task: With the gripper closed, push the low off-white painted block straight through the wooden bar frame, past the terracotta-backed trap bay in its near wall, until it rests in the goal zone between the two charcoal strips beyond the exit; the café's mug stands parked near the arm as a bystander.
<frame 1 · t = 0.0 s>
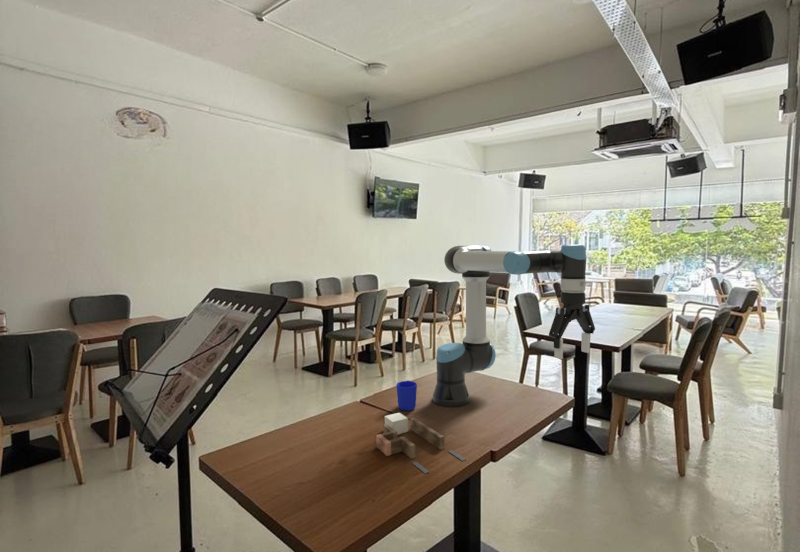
hand: (572, 355, 143), 28 cm above the table, fingers open, 13 cm apart
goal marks: (439, 461, 130), on the table
block: (396, 430, 153), on the table
wooden bar frame: (412, 442, 143), on the table
mug: (407, 407, 175), on the table
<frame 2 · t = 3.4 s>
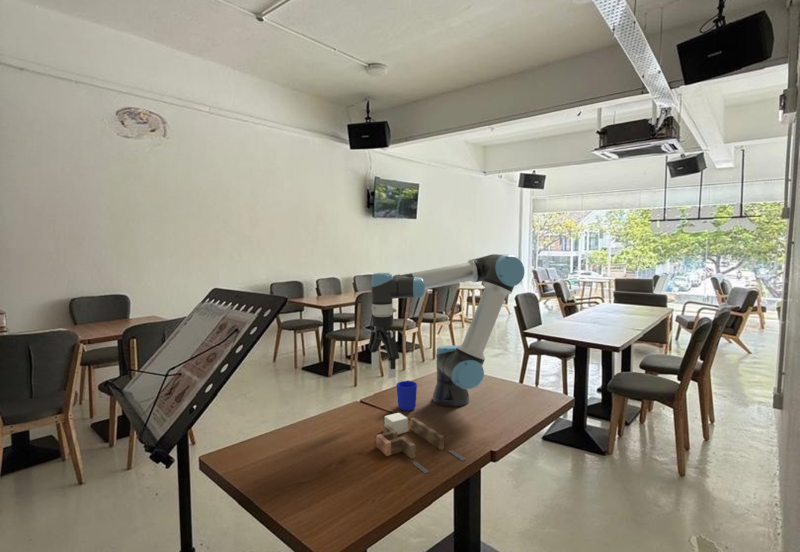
hand: (383, 373, 159), 18 cm above the table, fingers open, 12 cm apart
nothing on the table moved.
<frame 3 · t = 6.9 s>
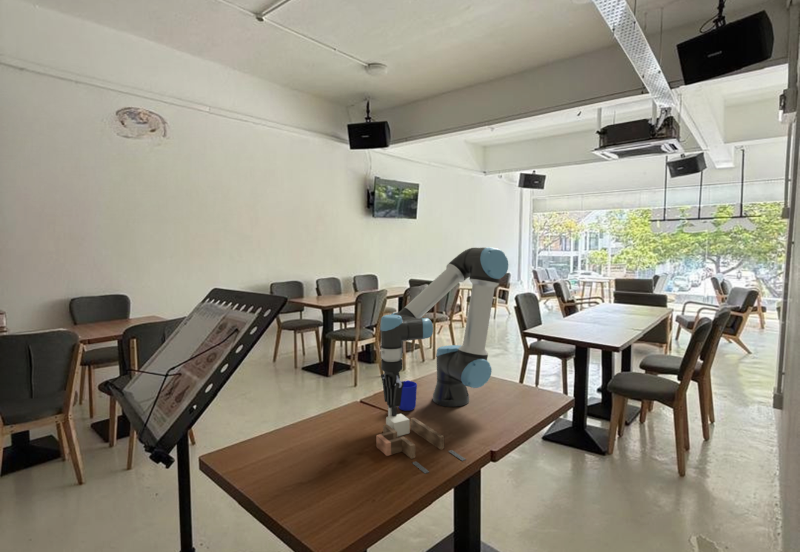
hand: (392, 423, 154), 2 cm above the table, fingers closed
block: (397, 432, 151), on the table, touching gripper
everything else where it was.
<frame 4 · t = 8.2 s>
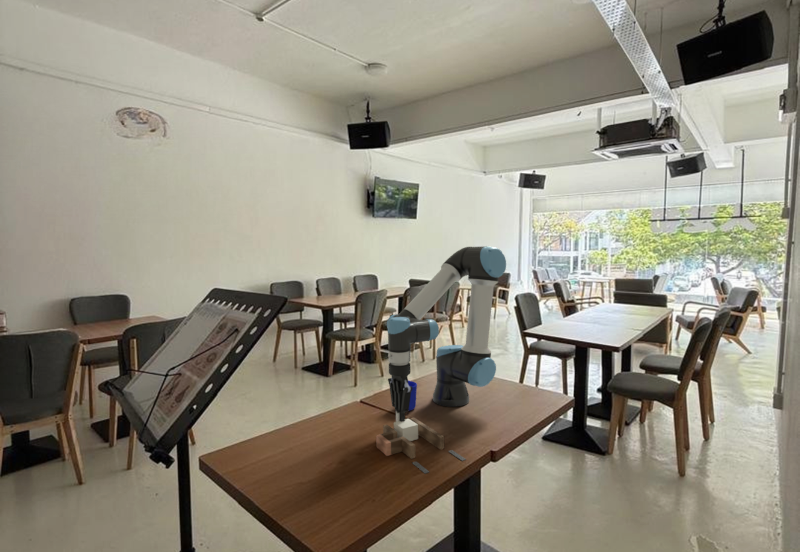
hand: (400, 429, 150), 2 cm above the table, fingers closed
block: (405, 437, 147), on the table, touching gripper
everything else where it was.
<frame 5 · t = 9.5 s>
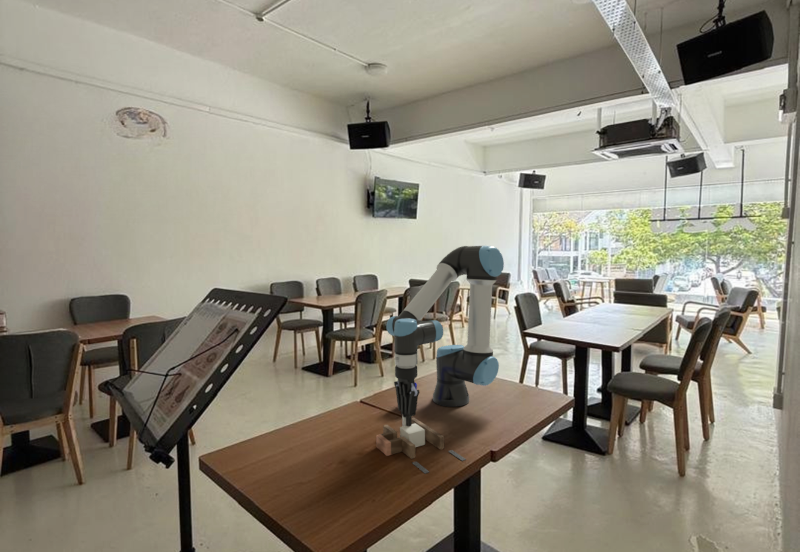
hand: (407, 433, 146), 2 cm above the table, fingers closed
block: (412, 443, 143), on the table, touching gripper
everything else where it was.
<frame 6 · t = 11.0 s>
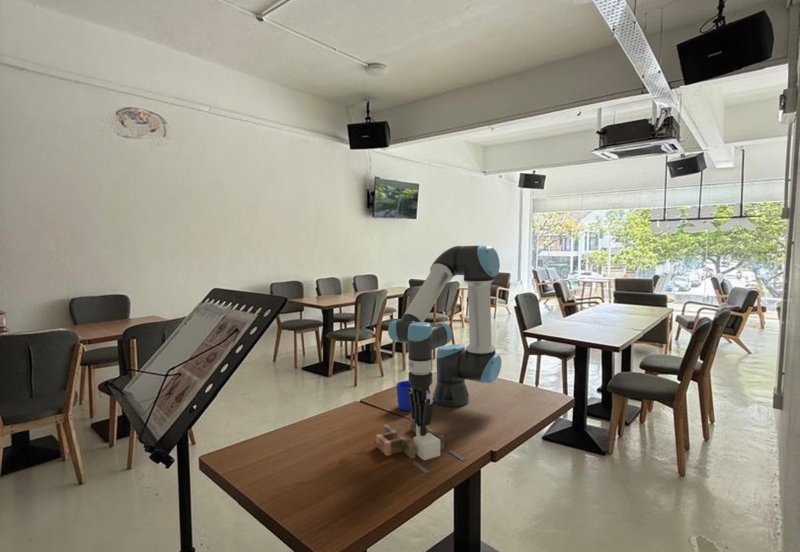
hand: (421, 443, 138), 2 cm above the table, fingers closed
block: (427, 453, 135), on the table, touching gripper
everything else where it was.
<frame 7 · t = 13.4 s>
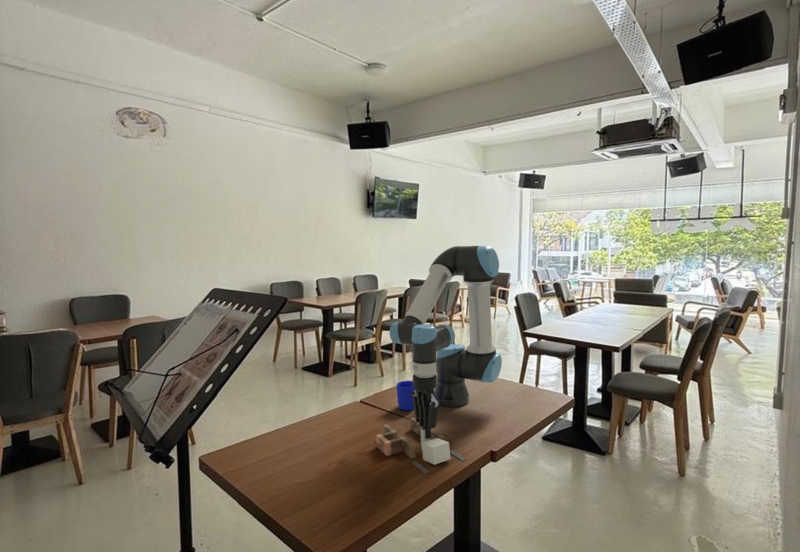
hand: (425, 446, 137), 1 cm above the table, fingers closed
block: (436, 459, 131), on the table, tilted 9°
everything else where it was.
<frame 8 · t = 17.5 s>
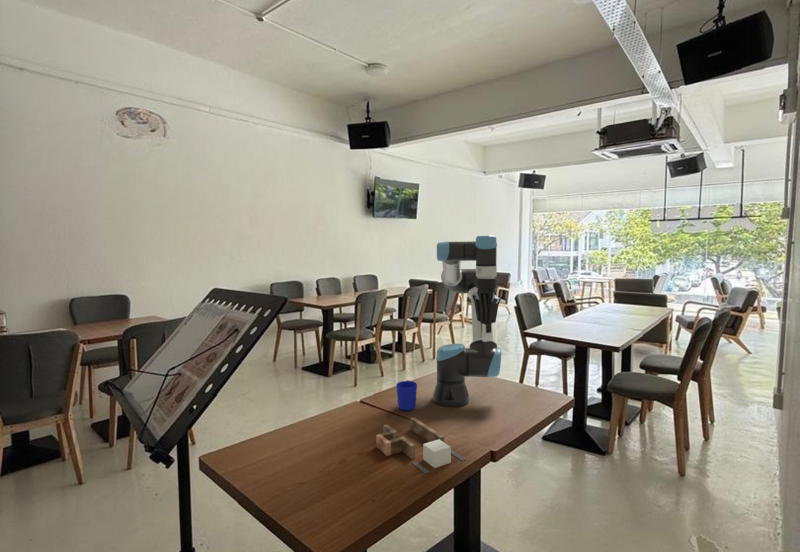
hand: (486, 340, 160), 29 cm above the table, fingers closed
block: (436, 461, 131), on the table
everything else where it was.
at the end: block inside the target area (2.0 cm from its centre), on the table; block tilted 0°; block touching table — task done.
